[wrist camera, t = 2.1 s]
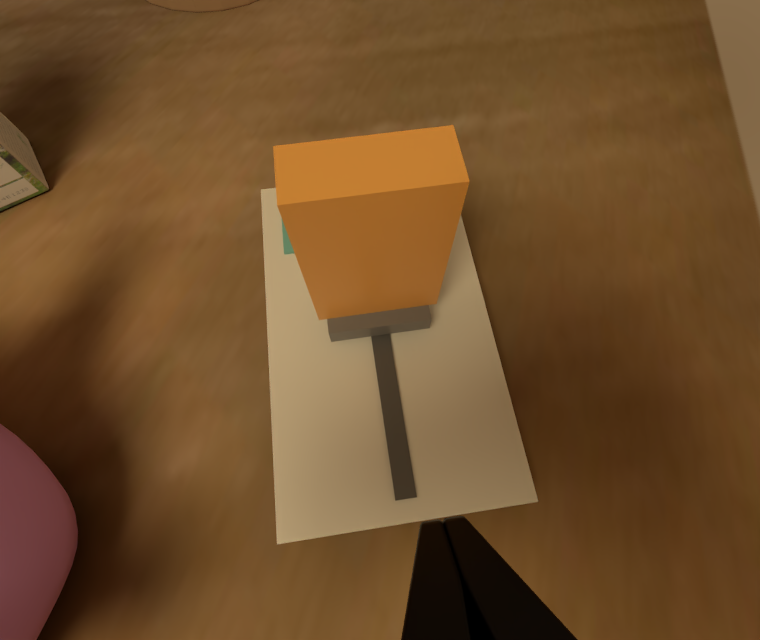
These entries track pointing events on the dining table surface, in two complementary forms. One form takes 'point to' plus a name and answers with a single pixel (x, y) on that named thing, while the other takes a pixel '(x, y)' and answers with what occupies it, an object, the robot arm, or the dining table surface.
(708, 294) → the dining table surface
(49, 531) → the teapot
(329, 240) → the fader
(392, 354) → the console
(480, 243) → the dining table surface
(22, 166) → the syrup box
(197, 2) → the alarm clock
